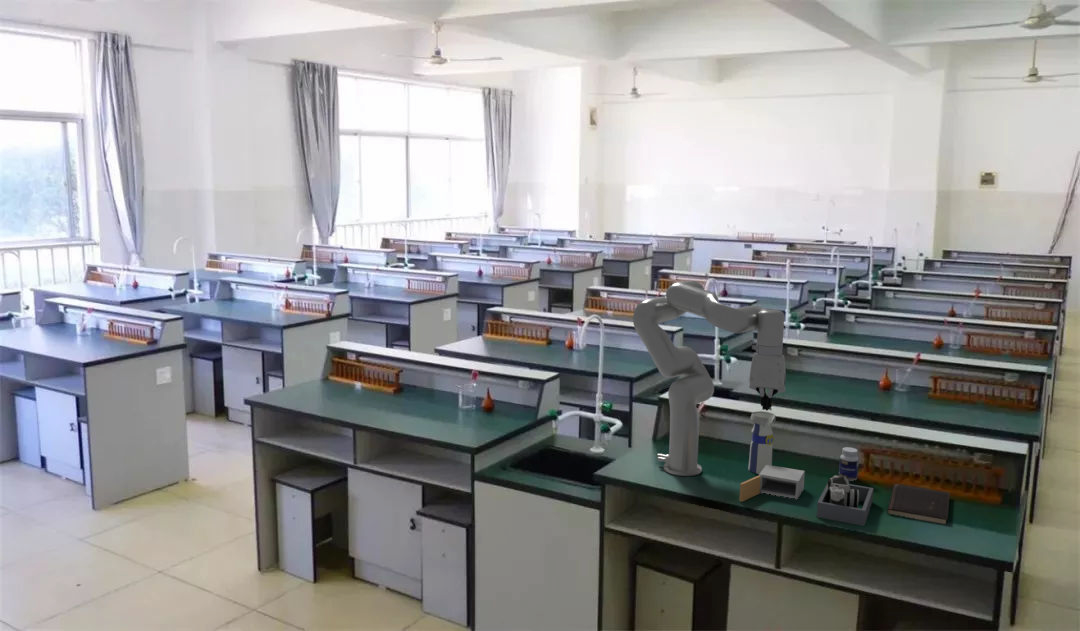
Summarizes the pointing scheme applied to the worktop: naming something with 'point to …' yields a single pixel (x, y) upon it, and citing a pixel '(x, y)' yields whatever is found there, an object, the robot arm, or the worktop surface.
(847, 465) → the pill bottle
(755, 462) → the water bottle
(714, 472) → the worktop surface
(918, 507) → the hardcover book
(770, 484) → the box
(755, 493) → the side door
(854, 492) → the camera
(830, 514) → the box
